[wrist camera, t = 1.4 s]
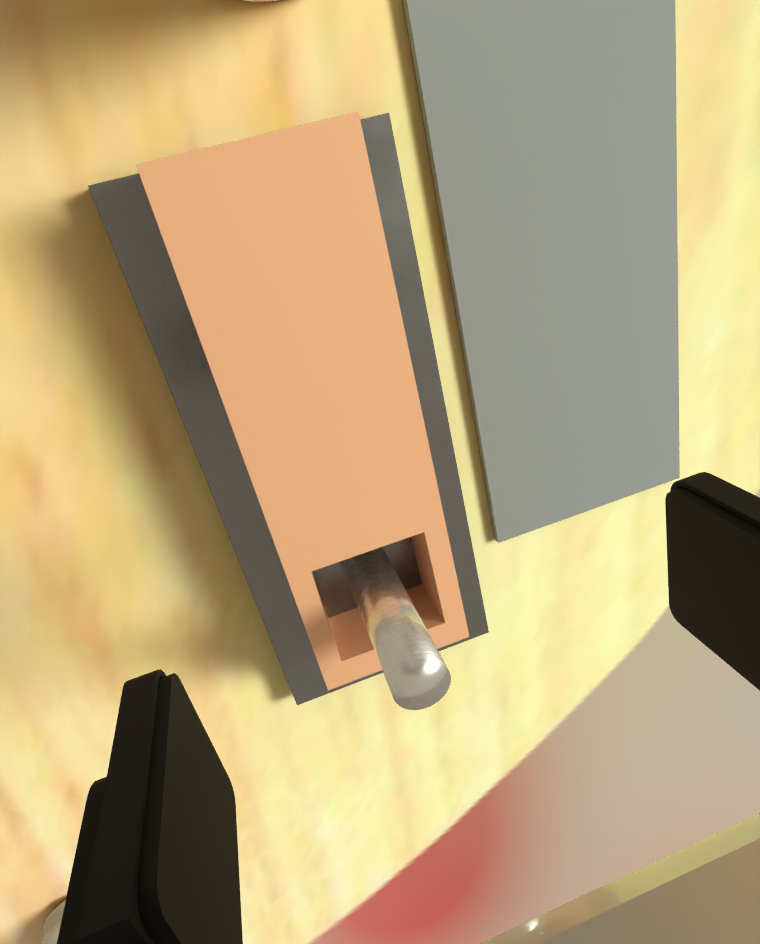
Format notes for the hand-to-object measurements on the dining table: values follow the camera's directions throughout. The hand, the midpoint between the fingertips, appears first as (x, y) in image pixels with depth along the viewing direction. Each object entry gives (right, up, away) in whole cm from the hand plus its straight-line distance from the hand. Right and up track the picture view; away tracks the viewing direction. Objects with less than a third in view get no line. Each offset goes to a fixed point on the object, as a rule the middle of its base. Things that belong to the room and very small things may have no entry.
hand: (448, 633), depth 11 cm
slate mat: (+7, +11, +14) cm, 19 cm away
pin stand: (-3, +4, +15) cm, 15 cm away
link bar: (-3, +5, +13) cm, 14 cm away
